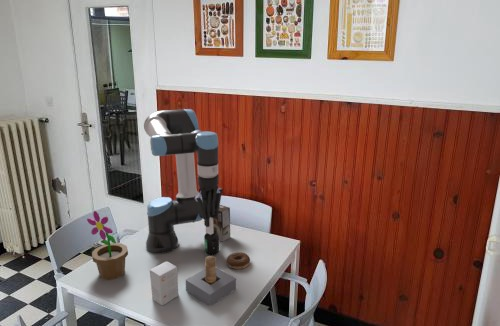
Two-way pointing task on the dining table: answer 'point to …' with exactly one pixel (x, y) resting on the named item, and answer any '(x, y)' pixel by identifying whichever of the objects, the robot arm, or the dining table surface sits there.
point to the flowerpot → (108, 251)
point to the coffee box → (223, 222)
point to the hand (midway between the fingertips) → (209, 232)
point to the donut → (238, 260)
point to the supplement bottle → (211, 242)
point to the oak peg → (210, 269)
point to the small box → (164, 282)
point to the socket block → (210, 286)
